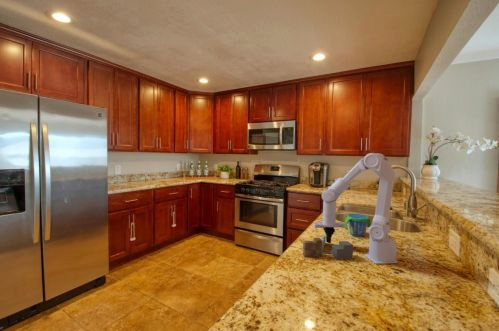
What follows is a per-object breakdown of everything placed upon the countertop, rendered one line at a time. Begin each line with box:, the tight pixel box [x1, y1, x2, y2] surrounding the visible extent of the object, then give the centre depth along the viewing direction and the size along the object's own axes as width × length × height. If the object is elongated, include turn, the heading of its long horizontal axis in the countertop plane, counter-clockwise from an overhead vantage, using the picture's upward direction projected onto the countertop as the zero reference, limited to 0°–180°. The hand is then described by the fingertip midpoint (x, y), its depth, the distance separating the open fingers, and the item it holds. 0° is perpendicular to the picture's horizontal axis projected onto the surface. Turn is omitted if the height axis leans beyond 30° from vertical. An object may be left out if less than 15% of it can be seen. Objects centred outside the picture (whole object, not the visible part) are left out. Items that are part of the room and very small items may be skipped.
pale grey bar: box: [320, 234, 326, 251], centre depth 104 cm, size 12×2×4 cm, turn 153°
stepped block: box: [331, 240, 354, 260], centre depth 95 cm, size 7×4×6 cm, turn 96°
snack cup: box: [343, 212, 372, 237], centre depth 121 cm, size 16×10×10 cm
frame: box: [302, 237, 332, 258], centre depth 97 cm, size 21×4×7 cm, turn 96°
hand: (328, 242), depth 107 cm, fingers closed
